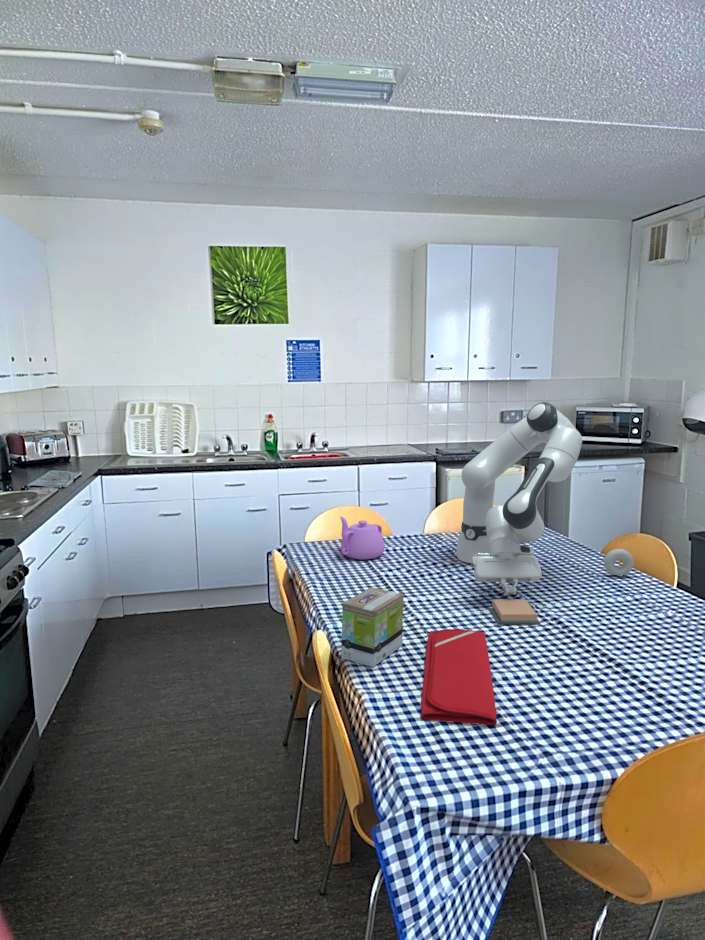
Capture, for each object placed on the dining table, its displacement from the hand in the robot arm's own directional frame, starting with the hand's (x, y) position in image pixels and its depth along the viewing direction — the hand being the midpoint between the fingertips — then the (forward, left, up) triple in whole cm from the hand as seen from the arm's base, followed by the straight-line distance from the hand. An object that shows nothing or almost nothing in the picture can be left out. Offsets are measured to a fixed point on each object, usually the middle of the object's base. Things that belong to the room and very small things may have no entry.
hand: (510, 593), depth 190 cm
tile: (0, -1, -3) cm, 3 cm away
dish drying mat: (+47, +7, -6) cm, 48 cm away
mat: (+5, +3, -5) cm, 8 cm away
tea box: (+49, -16, -5) cm, 52 cm away
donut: (-52, +18, -5) cm, 55 cm away
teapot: (-19, -71, -5) cm, 74 cm away
